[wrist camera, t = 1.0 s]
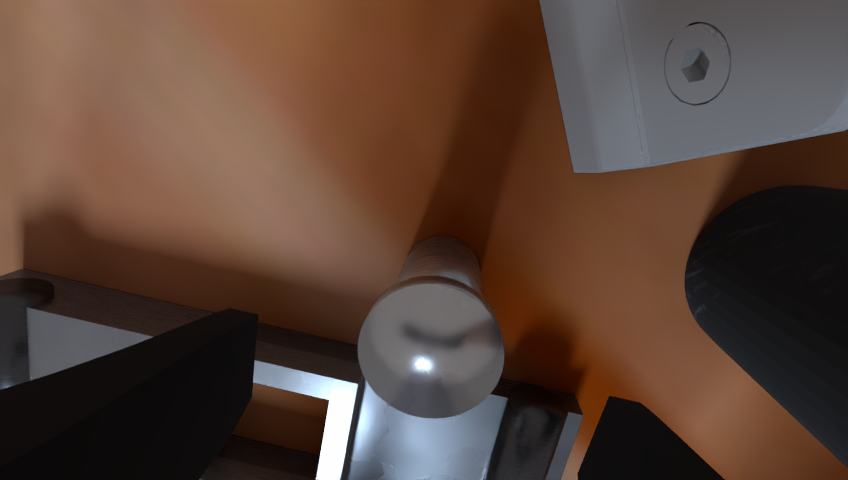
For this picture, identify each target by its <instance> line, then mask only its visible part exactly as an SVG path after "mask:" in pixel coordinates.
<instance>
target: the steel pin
mask: <svg viewBox="0 0 848 480" xmlns="http://www.w3.org/2000/svg"><path fill="white" fill-rule="evenodd" d="M504 355H505V353H504V344H503V338H502V333H501V329H500V324H499V321H498V319H497V316H496V314H495V312H494V311H493V309H492V307H491V306H490V305H489V303H488V302H487V301H486V300H485V299H484V298H483V294H482V285H481V276H480V268H479V263H478V260H477V257H476V255H475V254H474V252H473V251H472V249H471V248H470V247H469V246H468V245H466V244H465V243H464V242H462V241H461V240H459V239H456V238H454V237H450V236H433V237H429V238H427V239H424V240H423V241H421V242H419V243H418V244H417V245H416V246H415V247H414V248H413V249H412V250H411V251H410V253H409V255H408V257H407V259H406V262H405V264H404V266H403V269H402V271H401V274H400V276H399V278H398V281H397V283H396V284H395V285H393V286H392V287H390V288H389V289H388V290H386V291H385V292H384V293H383V294H382V295H381V296H380V297H379V298H378V299H377V300H376V302H375V303H374V305H373V306H372V308H371V310H370V311H369V313H368V315H367V317H366V319H365V321H364V324H363V326H362V328H361V331H360V335H359V339H358V359H359V364H360V367H361V370H362V373H363V375H364V377H365V379H366V381H367V383H368V384H369V386H370V387H371V389H372V390H373V391H374V392H375V393H376V395H378V396H379V397H380V398H381V399H382V400H383V401H384V402H386V403H387V404H388V405H390V406H391V407H393V408H395V409H397V410H399V411H401V412H403V413H406V414H409V415H412V416H416V417H421V418H431V419H438V418H447V417H453V416H456V415H460V414H462V413H465V412H467V411H469V410H471V409H473V408H474V407H476V406H477V405H479V404H480V403H481V402H483V401H484V400H485V399H486V398H487V397H488V396H489V395H490V394H491V392H492V391H493V389H494V388H495V387H496V385H497V383H498V381H499V379H500V376H501V374H502V370H503V366H504Z"/></svg>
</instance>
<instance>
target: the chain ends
mask: <svg viewBox="0 0 848 480" xmlns="http://www.w3.org/2000/svg"><path fill="white" fill-rule="evenodd" d="M211 314H214V313H213V312H208V311H204V310H200V309H195V308H191V307H187V306H182V305H178V304H173V303H169V302H165V301H160V300H156V299H152V298H147V297H143V296H138V295H134V294H130V293H125V292H121V291H117V290H112V289H108V288H104V287H99V286H95V285H90V284H86V283H82V282H77V281H73V280H69V279H64V278H60V277H55V276H51V275H47V274H42V273H38V272H34V271H29V270H25V269H20V270H17V271H14V272H11V273H8V274H5V275H2V276H0V389H4V388H8V387H11V386H14V385H18V384H21V383H24V382H27V381H31V380H34V379H37V378H40V377H43V376H46V375H49V374H53V373H56V372H58V371H61V370H64V369H67V368H70V367H73V366H75V365H78V364H81V363H84V362H87V361H90V360H92V359H95V358H98V357H101V356H104V355H107V354H109V353H112V352H115V351H118V350H121V349H124V348H126V347H129V346H131V345H134V344H137V343H139V342H142V341H144V340H147V339H149V338H152V337H155V336H157V335H160V334H162V333H165V332H167V331H170V330H173V329H175V328H178V327H180V326H183V325H185V324H188V323H190V322H193V321H195V320H198V319H200V318H203V317H206V316H208V315H211ZM253 382H254V383H258V384H263V385H267V386H271V387H276V388H280V389H284V390H288V391H293V392H297V393H301V394H306V395H310V396H314V397H318V398H323V399H327V400H329V406H328V412H327V418H326V424H325V430H324V436H323V441H322V447H321V453H320V456H317V455H313V454H308V453H304V452H300V451H296V450H292V449H287V448H283V447H279V446H275V445H271V444H266V443H262V442H258V441H254V440H249V439H245V438H241V437H237V436H233V435H230V436H229V438H228V440H227V442H226V443H225V444H224V446H223V447H222V449H221V450H220V451H219V453H218V454H217V456H216V457H215V458H214V460H213V461H212V462H211V464H210V465H209V467H208V468H207V469H206V471H205V472H204V473H203V475H202V476H201V478H200V479H199V480H561V477H562V474H563V472H564V469H565V466H566V463H567V460H568V457H569V455H570V452H571V449H572V446H573V443H574V440H575V438H576V435H577V432H578V429H579V426H580V423H581V421H582V418H583V413H582V411H581V409H580V406H579V404H578V401H577V399H576V397H575V395H571V394H567V393H562V392H558V391H554V390H549V389H545V388H543V387H540V386H537V385H533V384H523V383H519V382H514V381H510V380H505V379H501V378H500V379H499V381H498V383H497V385H496V387H495V388H494V389H493V391H492V392H491V394H490V395H489V396H488V397H487V398H486V399H485V400H484V401H483V402H481V403H480V404H479V405H477V406H476V407H474V408H473V409H471V410H469V411H467V412H465V413H462V414H460V415H456V416H453V417H447V418H438V419H431V418H421V417H416V416H412V415H409V414H406V413H403V412H401V411H399V410H397V409H395V408H393V407H391V406H390V405H388V404H387V403H386V402H384V401H383V400H382V399H381V398H380V397H379V396H378V395H376V393H375V392H374V391H373V390H372V389H371V387H370V386H369V384H368V383H367V381H366V379H365V377H364V375H363V373H362V370H361V367H360V364H359V359H358V346H357V345H353V344H348V343H344V342H339V341H335V340H331V339H326V338H322V337H318V336H313V335H309V334H305V333H300V332H296V331H291V330H287V329H283V328H278V327H274V326H270V325H265V324H261V323H258V326H257V338H256V351H255V363H254V376H253Z"/></svg>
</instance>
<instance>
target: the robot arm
mask: <svg viewBox="0 0 848 480" xmlns="http://www.w3.org/2000/svg"><path fill="white" fill-rule="evenodd" d="M257 326H258V315H257V314H253V313H248V312H244V311H239V310H235V309H231V308H229V309H226V310H223V311H219V312H217V313H214V314H211V315H208V316H206V317H203V318H200V319H198V320H195V321H193V322H190V323H188V324H185V325H183V326H180V327H178V328H175V329H173V330H170V331H167V332H165V333H162V334H160V335H157V336H155V337H152V338H149V339H147V340H144V341H142V342H139V343H137V344H134V345H131V346H129V347H126V348H124V349H121V350H118V351H115V352H112V353H109V354H107V355H104V356H101V357H98V358H95V359H92V360H90V361H87V362H84V363H81V364H78V365H75V366H73V367H70V368H67V369H64V370H61V371H58V372H56V373H53V374H49V375H46V376H43V377H40V378H37V379H34V380H31V381H27V382H24V383H21V384H18V385H14V386H11V387H8V388H4V389H0V480H199V479H200V478H201V476H202V475H203V473H204V472H205V471H206V469H207V468H208V467H209V465H210V464H211V462H212V461H213V460H214V458H215V457H216V456H217V454H218V453H219V451H220V450H221V449H222V447H223V446H224V444H225V443H226V442H227V440H228V438H229V436H230V435H231V433H232V431H233V430H234V428H235V426H236V424H237V423H238V421H239V419H240V417H241V416H242V414H243V412H244V410H245V408H246V406H247V405H248V403H249V401H250V399H251V397H252V388H253V376H254V363H255V351H256V338H257ZM578 480H724V479H723V478H722V477H721V476H720V475H719V474H718V473H717V472H716V471H715V470H714V469H713V468H712V467H711V466H709V465H708V464H707V463H706V462H705V461H704V460H703V459H702V458H701V457H700V456H699V455H698V454H697V453H696V452H695V451H694V450H692V449H691V448H690V447H689V446H688V445H687V444H686V443H685V442H684V441H683V440H682V439H681V438H680V437H679V436H678V435H677V434H675V433H674V432H673V431H672V430H671V429H670V428H669V427H668V426H667V425H666V424H665V423H664V422H662V421H661V420H660V419H659V418H658V417H657V416H656V415H655V414H653V413H652V412H651V411H650V410H649V409H647V408H646V407H645V406H644V405H642V404H641V403H639V402H635V401H630V400H626V399H622V398H617V397H613V396H609V398H608V400H607V403H606V405H605V408H604V410H603V413H602V415H601V418H600V420H599V422H598V425H597V427H596V430H595V432H594V435H593V437H592V440H591V442H590V445H589V447H588V449H587V452H586V454H585V457H584V459H583V462H582V464H581V467H580V469H579V472H578Z"/></svg>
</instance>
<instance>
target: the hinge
mask: <svg viewBox="0 0 848 480" xmlns="http://www.w3.org/2000/svg"><path fill="white" fill-rule="evenodd" d="M539 2H540V7H541V12H542V17H543V22H544V27H545V32H546V36H547V41H548V46H549V51H550V56H551V61H552V66H553V71H554V76H555V81H556V86H557V91H558V96H559V101H560V106H561V111H562V116H563V121H564V126H565V131H566V136H567V141H568V146H569V151H570V156H571V161H572V165H573V170H574V173H602V172H610V171H618V170H627V169H635V168H644V167H652V166H658V165H663V164H668V163H674V162H679V161H685V160H690V159H695V158H701V157H706V156H711V155H717V154H722V153H728V152H733V151H738V150H744V149H749V148H754V147H760V146H765V145H771V144H776V143H781V142H787V141H792V140H797V139H803V138H808V137H814V136H819V135H824V134H830V133H835V132H840V131H845V130H847V129H848V0H539Z"/></svg>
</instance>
